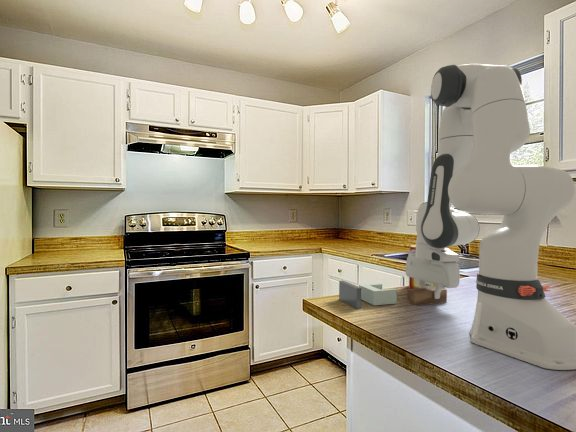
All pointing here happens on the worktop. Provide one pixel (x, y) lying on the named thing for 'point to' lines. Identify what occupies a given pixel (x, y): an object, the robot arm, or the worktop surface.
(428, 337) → the worktop surface
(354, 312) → the worktop surface
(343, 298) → the grey upright slab
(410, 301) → the brown wooden block
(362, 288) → the block
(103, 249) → the worktop surface
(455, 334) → the worktop surface
